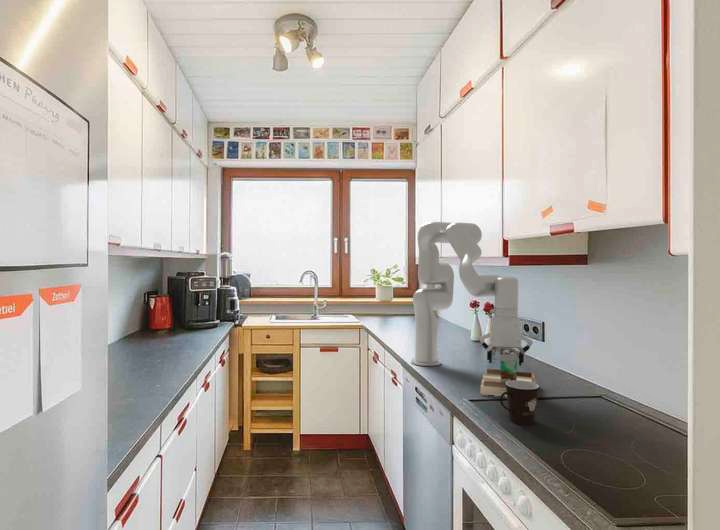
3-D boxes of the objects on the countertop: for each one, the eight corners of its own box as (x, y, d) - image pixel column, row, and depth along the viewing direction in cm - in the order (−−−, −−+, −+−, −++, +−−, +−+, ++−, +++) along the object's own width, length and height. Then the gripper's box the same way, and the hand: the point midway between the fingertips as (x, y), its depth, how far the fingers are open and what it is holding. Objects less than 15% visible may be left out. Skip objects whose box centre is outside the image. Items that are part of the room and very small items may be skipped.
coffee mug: (530, 415, 129) (530, 380, 129) (544, 426, 120) (544, 389, 120) (490, 415, 128) (490, 380, 128) (500, 427, 120) (501, 389, 119)
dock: (484, 380, 165) (484, 368, 165) (534, 385, 159) (534, 372, 159) (480, 394, 148) (480, 381, 148) (536, 400, 142) (536, 386, 142)
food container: (521, 386, 147) (520, 355, 146) (501, 385, 148) (500, 354, 148) (519, 376, 158) (518, 347, 158) (500, 375, 160) (500, 347, 160)
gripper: (478, 313, 153) (478, 363, 153) (533, 316, 147) (532, 368, 147) (480, 310, 160) (479, 359, 160) (532, 313, 154) (531, 363, 154)
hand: (505, 363), depth 154 cm, fingers open, 9 cm apart
